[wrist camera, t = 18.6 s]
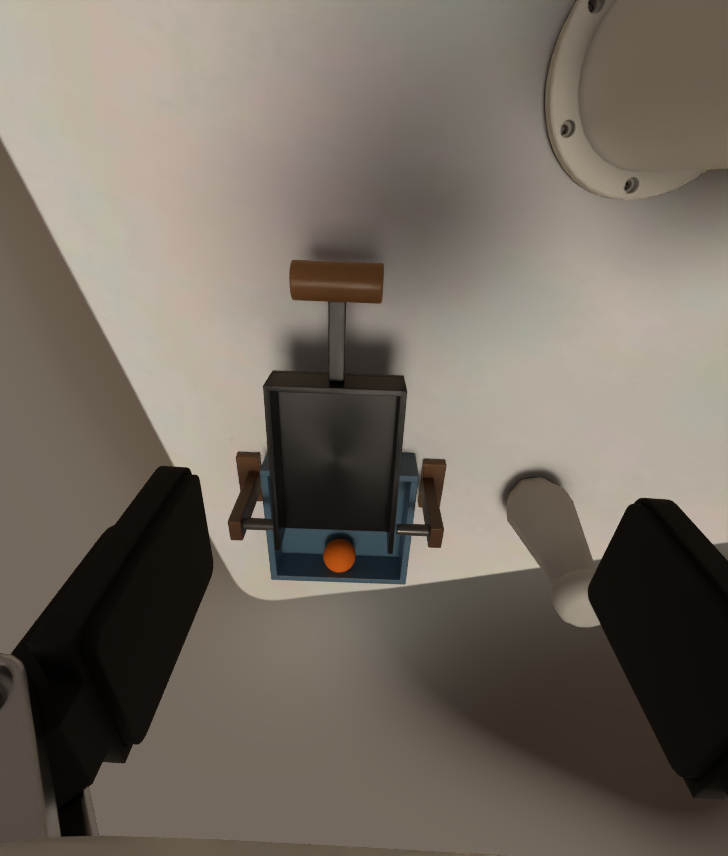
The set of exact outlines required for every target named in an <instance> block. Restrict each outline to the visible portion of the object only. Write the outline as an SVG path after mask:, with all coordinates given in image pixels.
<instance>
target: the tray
mask: <svg viewBox="0 0 728 856" xmlns="http://www.w3.org/2000/svg"><path fill="white" fill-rule="evenodd" d="M260 477H261V487H262V496H263V506H264V515H265V519H273V517H272V503H271V489H270V475H269V461H268V451H267V453H266V456H265V459H264V461H263V464H262V467H261V469H260ZM418 478H419V476H418V469H417V463H416V457H415V454H414V453H402V456H401V467H400V479H399V490H398V502H397V513H396V524H413V518H414V510H415V502H416V494H417V486H418ZM266 534H267V543H268V552H269V562H270V571H271V579H272V580H298V581H325V582H353V583H380V584H405V583H406V575H407V567H408V559H409V551H410V543H411V536H410V535H396V525H395V537H394V548H393V554H388V550H387V532H377V531H350V530H323V529H296V528H286V530H285V533H284V537H283V541H282V544H281V548H280V550H275V545H274V531H273V530H266ZM334 539H345V540H347V541H349V542H350V543H351V544H352V545H353V547H354V549H355V553H356V558H355V562H354V564H353V565H352V567H351V568H350V569H348V570H347V571H345V572H334V571H332V570H330V569H329V568H328V567H327V566H326V564H325V562H324V559H323V553H324V549H325V547H326V546H327V544H328V543H329V542H331V541H332V540H334Z"/></svg>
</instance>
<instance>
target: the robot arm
mask: <svg viewBox="0 0 728 856" xmlns="http://www.w3.org/2000/svg"><path fill="white" fill-rule="evenodd" d="M588 2H591V3H592V4H593V10H592V12H590V11H589V9H588ZM545 114H546V122H547V131H548V135H549V138H550V141H551V145H552V148H553V151H554V153H555V155H556V157H557V159H558V160H559V162H560V164H561V166H562V168H563V169H564V170H565V171H566V173H567V174H568V175H569V176H570V177H571V178H572V179H573V180H574V181H575V182H576V183H577V184H579V185H580V186H582V187H583V188H585V189H586V190H588V191H589V192H592V193H595V194H597V195H600V196H603V197H606V198H614V199H621V200H624V199H644V198H649V197H654V196H658V195H662V194H664V193H667V192H669V191H672V190H674V189H677V188H679V187H681V186H683V185H685V184H686V183H688V182H690V181H691V180H693V179H695V178H696V177H698V176H700V175H701V174H702V173H704V172H705V171H706V170H707V169H728V0H577V1H576V2H575V4H574V6H573V8H572V10H571V12H570V14H569V16H568V18H567V20H566V22H565V23H564V25H563V27H562V29H561V32H560V35H559V37H558V40H557V43H556V46H555V49H554V52H553V55H552V58H551V62H550V67H549V72H548V78H547V83H546V98H545ZM562 125H564V126H565V127H566V131H565V133H564V134H563V135H561V134H560V128H561V126H562ZM626 181H627V182H628V186H627V188H626V189H624V185H625V183H626ZM212 572H213V557H212V551H211V545H210V539H209V533H208V527H207V521H206V515H205V509H204V503H203V497H202V491H201V485H200V480H199V477H198V476H197V475H192V473H191V471H190V469H189V468H186V467H171V466H160V467H158V468H157V469H156V470H155V472H154V473H153V474H152V476H151V477H150V479H149V480H148V481H147V483H146V484H145V485H144V487H143V488H142V489H141V491H140V492H139V493H138V495H137V496H136V497H135V499H134V500H133V501H132V503H131V504H130V505H129V507H128V508H127V509H126V511H125V512H124V513H123V515H122V516H121V517H120V519H119V520H118V521H117V523H116V524H115V525H113V526H112V527H109V528H108V529H107V530H106V531H105V532H104V533H103V534H102V535H101V537H100V538H99V539H98V540H97V542H96V543H95V544H94V546H93V547H92V548H91V550H90V551H89V552H88V554H87V555H86V556H85V558H84V559H83V560H82V561H81V563H80V564H79V565H78V567H77V568H76V569H75V571H74V572H73V573H72V574H71V576H70V577H69V578H68V580H67V581H66V582H65V584H64V585H63V586H62V587H61V589H60V590H59V591H58V593H57V594H56V596H55V597H54V598H53V599H52V601H51V602H50V603H49V605H48V606H47V607H46V608H45V610H44V611H43V612H42V614H41V615H40V616H39V618H38V619H37V620H36V621H35V623H34V624H33V626H32V627H31V628H30V629H29V631H28V632H27V633H26V635H25V636H24V638H23V639H22V640H21V641H20V642H19V644H18V645H17V646H16V648H15V649H14V650H13V652H12V653H11V654H3V653H0V856H506V855H488V854H472V853H471V854H470V853H455V852H436V851H420V850H403V849H386V848H367V847H347V846H330V845H311V844H292V843H274V842H255V841H237V840H218V839H190V838H189V839H188V838H158V837H128V836H127V837H126V836H99V833H98V828H97V823H96V819H95V814H94V809H93V804H92V799H91V794H90V789H89V786H90V785H91V784H93V781H94V779H95V777H96V775H97V773H98V771H99V768H100V766H101V764H102V762H112V763H125V762H126V760H127V757H128V755H129V752H130V750H131V748H132V745H133V744H140V743H141V742H142V741H143V739H144V738H145V736H146V734H147V732H148V729H149V727H150V724H151V722H152V720H153V717H154V715H155V712H156V710H157V707H158V705H159V703H160V700H161V698H162V695H163V693H164V690H165V688H166V685H167V683H168V681H169V678H170V676H171V673H172V671H173V669H174V666H175V664H176V661H177V659H178V656H179V654H180V652H181V649H182V646H183V644H184V642H185V639H186V637H187V635H188V632H189V630H190V627H191V625H192V622H193V620H194V617H195V615H196V613H197V610H198V608H199V605H200V603H201V601H202V598H203V596H204V593H205V591H206V589H207V586H208V584H209V581H210V579H211V576H212ZM588 599H589V602H590V604H591V606H592V608H593V610H594V612H595V614H596V616H597V618H598V620H599V622H600V624H601V626H602V628H603V630H604V632H605V634H606V636H607V638H608V640H609V642H610V645H611V647H612V649H613V651H614V653H615V655H616V657H617V659H618V661H619V663H620V664H621V667H622V668H623V671H624V673H625V674H626V677H627V679H628V681H629V683H630V685H631V687H632V689H633V691H634V693H635V695H636V697H637V699H638V701H639V703H640V705H641V707H642V709H643V711H644V713H645V715H646V717H647V719H648V721H649V723H650V725H651V727H652V729H653V731H654V733H655V735H656V737H657V739H658V741H659V743H660V745H661V747H662V749H663V751H664V753H665V755H666V757H667V759H668V761H669V763H670V765H671V767H672V768H673V770H674V771H675V772H676V773H677V774H678V775H679V776H681V777H683V779H684V781H685V783H686V785H687V786H688V788H689V790H690V792H691V794H692V796H693V798H707V799H724V798H726V797H727V796H728V561H727V560H726V559H725V557H724V556H723V555H722V554H721V553H720V552H719V551H718V550H717V549H716V548H715V546H714V545H713V544H712V543H711V542H710V541H709V540H708V539H707V538H706V536H705V535H704V534H703V533H702V532H701V531H700V530H699V529H698V528H697V527H696V525H695V524H694V523H693V522H692V521H691V520H690V519H689V518H688V517H687V515H686V514H685V513H684V512H683V511H682V510H681V509H680V508H679V507H678V506H677V504H675V503H674V502H673V501H671V500H666V499H651V498H640V499H638V500H637V501H636V502H635V503H634V504H631V505H629V506H628V507H627V509H626V511H625V513H624V515H623V517H622V519H621V521H620V523H619V525H618V527H617V529H616V531H615V533H614V535H613V537H612V539H611V541H610V543H609V545H608V547H607V549H606V551H605V553H604V555H603V557H602V559H601V561H600V563H599V566H598V568H597V569H596V571H595V573H594V575H593V577H592V580H591V582H590V584H589V586H588Z"/></svg>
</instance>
